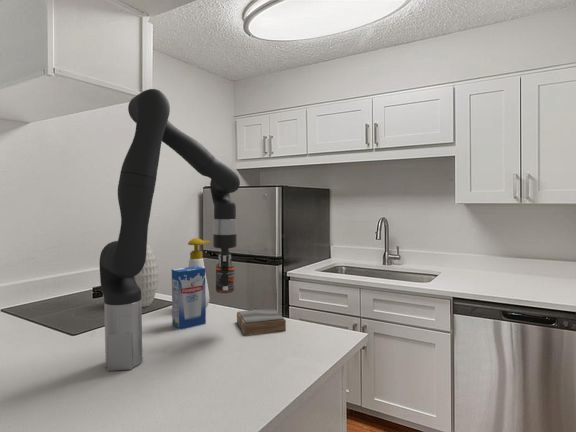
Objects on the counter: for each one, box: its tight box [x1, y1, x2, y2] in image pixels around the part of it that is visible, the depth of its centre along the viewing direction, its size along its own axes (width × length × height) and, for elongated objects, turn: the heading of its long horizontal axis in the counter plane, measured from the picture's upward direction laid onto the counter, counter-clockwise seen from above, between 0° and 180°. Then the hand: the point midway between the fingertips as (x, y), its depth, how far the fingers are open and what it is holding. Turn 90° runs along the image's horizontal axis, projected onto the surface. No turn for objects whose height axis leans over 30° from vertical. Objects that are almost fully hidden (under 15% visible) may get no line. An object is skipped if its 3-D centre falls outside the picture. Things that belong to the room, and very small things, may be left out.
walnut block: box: [236, 307, 287, 336], centre depth 132 cm, size 14×14×4 cm
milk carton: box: [171, 266, 207, 331], centre depth 133 cm, size 10×6×20 cm, turn 129°
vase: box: [134, 242, 159, 308], centre depth 158 cm, size 13×13×28 cm
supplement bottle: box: [215, 258, 235, 294], centre depth 123 cm, size 6×6×11 cm
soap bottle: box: [187, 237, 211, 309], centre depth 151 cm, size 13×10×29 cm
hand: (224, 283), depth 123 cm, fingers closed on supplement bottle, 6 cm apart
